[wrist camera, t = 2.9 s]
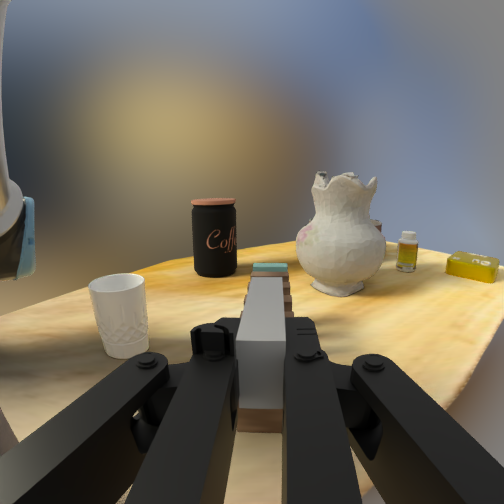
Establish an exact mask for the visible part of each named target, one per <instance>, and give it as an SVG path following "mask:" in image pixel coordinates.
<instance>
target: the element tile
mask: <svg viewBox="0 0 504 504" xmlns="http://www.w3.org/2000/svg"><path fill="white" fill-rule="evenodd" d="M498 267H499V259H497V258H492V257H487V256H483V255H477V254H473V253H467V252H461V251H458V252H455V253H454V254H453V255H451V256H450V257H449V258H447V265H446V273H447V274H449V275H453V276H458V277H462V278H467V279H471V280H476V281H480V282H484V283H494V281H495V278H496V276H497V273H498Z"/></svg>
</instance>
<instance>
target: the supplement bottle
mask: <svg viewBox="0 0 504 504" xmlns="http://www.w3.org/2000/svg"><path fill="white" fill-rule="evenodd" d="M417 251H418V241H417V240H416V232H412V231H402V238H400V239H399V241H398V252H397V263H396V268H397V269H398V270H399V271H403V272H413V271H415V269H416V261H417Z"/></svg>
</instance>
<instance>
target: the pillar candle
mask: <svg viewBox="0 0 504 504" xmlns="http://www.w3.org/2000/svg"><path fill="white" fill-rule="evenodd" d="M18 443H19V442H18V440H17V438H16V436H15V435H14V433H13V431H12V429H11V427H10V425H9V423H8V422H7V420H6V418H5V416H4V414H3V412H2V410H1V408H0V457H1V456H2V455H4V454H5V453H6V452H8V451H9V450H10V449H12V448H13V447H14V446H16V445H17V444H18Z"/></svg>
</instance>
